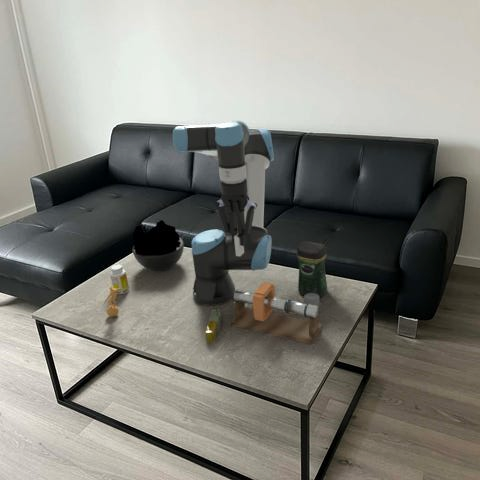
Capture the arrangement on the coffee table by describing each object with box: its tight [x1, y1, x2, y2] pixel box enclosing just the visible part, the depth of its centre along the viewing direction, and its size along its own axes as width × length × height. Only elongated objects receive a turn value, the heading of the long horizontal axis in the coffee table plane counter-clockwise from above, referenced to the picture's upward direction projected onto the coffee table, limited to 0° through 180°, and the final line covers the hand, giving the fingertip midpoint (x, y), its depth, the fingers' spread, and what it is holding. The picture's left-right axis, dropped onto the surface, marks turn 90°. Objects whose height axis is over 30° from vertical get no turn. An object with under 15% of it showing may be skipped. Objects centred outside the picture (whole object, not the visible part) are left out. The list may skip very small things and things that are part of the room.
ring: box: [252, 281, 276, 321], centre depth 148 cm, size 3×10×10 cm, turn 153°
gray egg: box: [303, 293, 320, 314], centre depth 154 cm, size 5×5×6 cm
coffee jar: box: [296, 240, 328, 298], centre depth 163 cm, size 10×8×19 cm
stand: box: [230, 301, 323, 345], centre depth 149 cm, size 27×9×7 cm, turn 63°
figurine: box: [103, 286, 121, 318], centre depth 160 cm, size 8×6×12 cm
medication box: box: [204, 309, 222, 343], centre depth 150 cm, size 12×3×4 cm, turn 172°
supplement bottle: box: [109, 263, 130, 295], centre depth 175 cm, size 6×6×10 cm
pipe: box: [233, 289, 318, 318], centre depth 147 cm, size 27×4×4 cm, turn 63°
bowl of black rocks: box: [132, 219, 185, 272], centre depth 187 cm, size 20×20×19 cm
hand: (240, 254), depth 144 cm, fingers closed
